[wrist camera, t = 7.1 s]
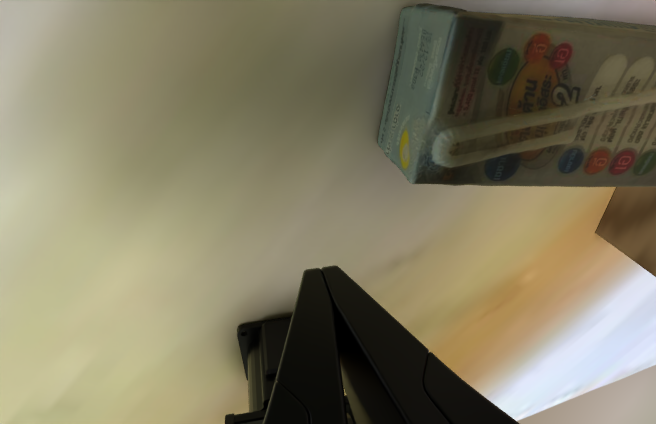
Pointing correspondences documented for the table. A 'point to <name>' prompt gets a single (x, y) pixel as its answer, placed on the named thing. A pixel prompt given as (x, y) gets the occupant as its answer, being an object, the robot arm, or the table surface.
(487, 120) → the printed cardboard box
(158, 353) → the table surface
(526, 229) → the table surface
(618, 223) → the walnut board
